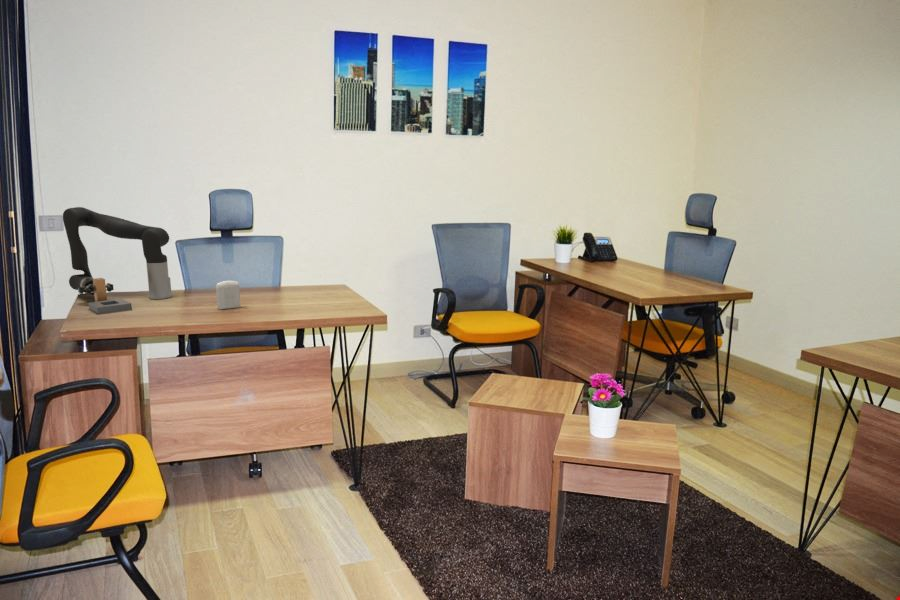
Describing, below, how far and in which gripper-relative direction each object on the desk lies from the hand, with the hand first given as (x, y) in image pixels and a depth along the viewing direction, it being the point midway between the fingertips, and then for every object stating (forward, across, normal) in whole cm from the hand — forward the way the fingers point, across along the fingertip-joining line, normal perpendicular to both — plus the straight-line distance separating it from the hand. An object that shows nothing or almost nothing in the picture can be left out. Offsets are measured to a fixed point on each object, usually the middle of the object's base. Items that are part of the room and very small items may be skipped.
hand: (100, 290), depth 328 cm
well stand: (+14, 0, +7) cm, 15 cm away
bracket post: (0, 0, +7) cm, 7 cm away
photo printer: (+46, +41, +7) cm, 62 cm away
